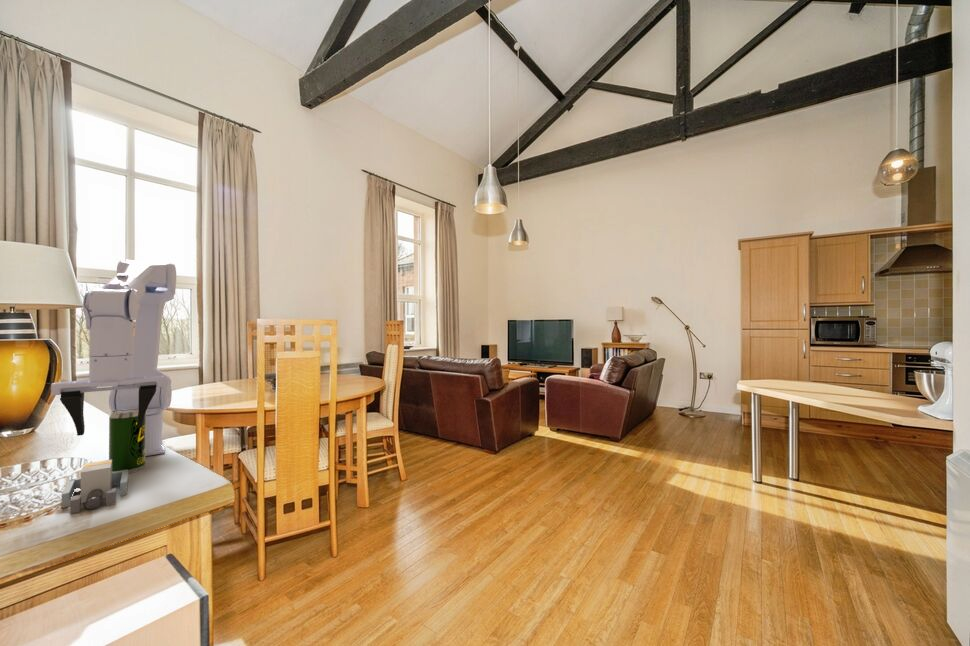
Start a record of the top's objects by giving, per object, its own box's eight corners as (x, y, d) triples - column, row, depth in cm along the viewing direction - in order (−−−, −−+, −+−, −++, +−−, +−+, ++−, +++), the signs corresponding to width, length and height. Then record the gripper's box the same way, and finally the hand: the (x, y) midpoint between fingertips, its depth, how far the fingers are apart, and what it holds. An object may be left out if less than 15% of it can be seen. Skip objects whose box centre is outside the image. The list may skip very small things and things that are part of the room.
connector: (83, 492, 67) (84, 463, 67) (112, 487, 70) (112, 459, 70) (76, 514, 60) (76, 481, 60) (108, 507, 62) (108, 475, 62)
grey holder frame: (68, 492, 67) (68, 479, 67) (128, 481, 72) (128, 469, 72) (57, 516, 59) (57, 502, 59) (125, 501, 64) (125, 488, 64)
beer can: (105, 477, 74) (105, 414, 74) (112, 468, 78) (112, 408, 78) (142, 471, 77) (143, 411, 77) (147, 463, 81) (148, 405, 81)
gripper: (47, 359, 63) (47, 443, 63) (164, 354, 72) (163, 428, 72) (55, 356, 68) (55, 433, 68) (163, 352, 78) (162, 420, 78)
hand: (111, 430), depth 71 cm, fingers open, 7 cm apart
